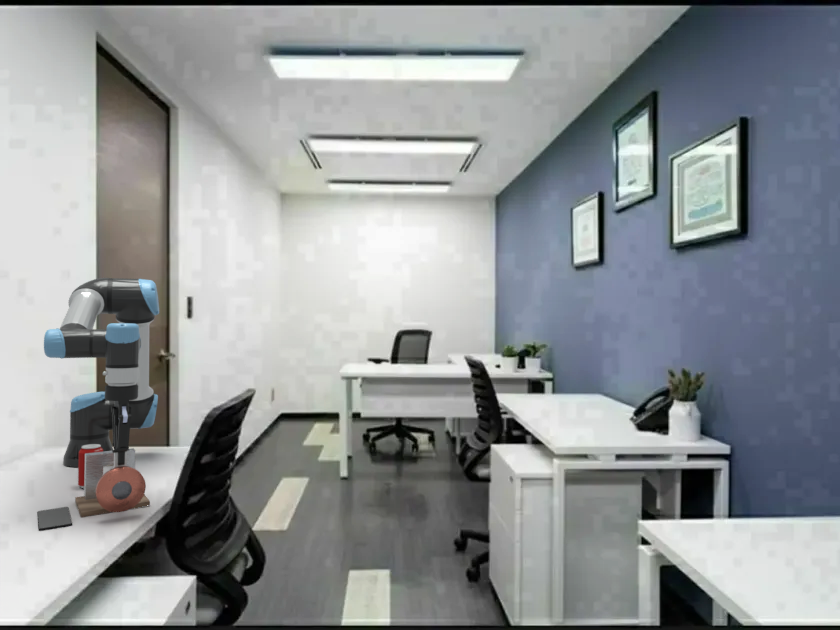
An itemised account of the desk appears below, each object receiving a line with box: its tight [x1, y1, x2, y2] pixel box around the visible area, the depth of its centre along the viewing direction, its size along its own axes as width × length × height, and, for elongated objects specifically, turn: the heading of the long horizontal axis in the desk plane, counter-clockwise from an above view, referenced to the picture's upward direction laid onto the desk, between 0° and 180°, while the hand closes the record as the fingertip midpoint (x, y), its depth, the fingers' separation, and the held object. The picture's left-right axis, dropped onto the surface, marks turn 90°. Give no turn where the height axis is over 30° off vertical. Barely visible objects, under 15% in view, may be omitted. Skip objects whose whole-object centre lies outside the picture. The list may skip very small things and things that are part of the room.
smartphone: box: [36, 506, 73, 532], centre depth 144 cm, size 7×1×15 cm
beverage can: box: [77, 444, 103, 490], centre depth 170 cm, size 6×6×12 cm
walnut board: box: [74, 493, 151, 518], centre depth 156 cm, size 14×16×1 cm
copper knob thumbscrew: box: [96, 466, 147, 513], centre depth 150 cm, size 16×11×11 cm
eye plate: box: [83, 447, 136, 500], centre depth 160 cm, size 3×12×13 cm, turn 126°
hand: (119, 476), depth 146 cm, fingers closed
